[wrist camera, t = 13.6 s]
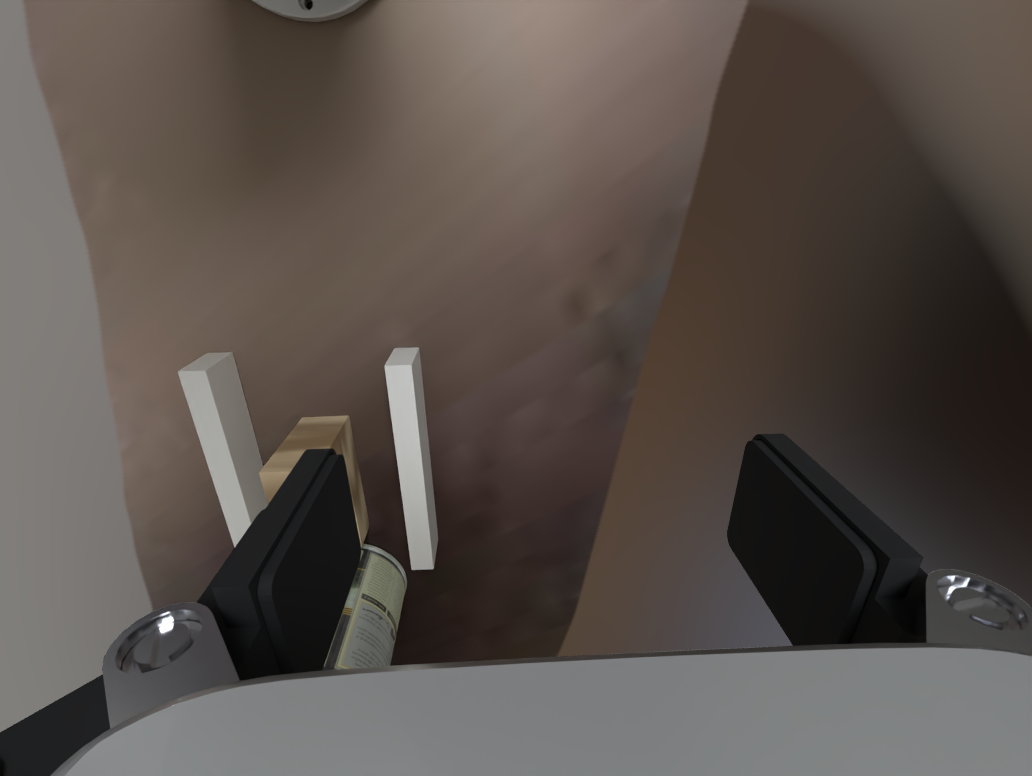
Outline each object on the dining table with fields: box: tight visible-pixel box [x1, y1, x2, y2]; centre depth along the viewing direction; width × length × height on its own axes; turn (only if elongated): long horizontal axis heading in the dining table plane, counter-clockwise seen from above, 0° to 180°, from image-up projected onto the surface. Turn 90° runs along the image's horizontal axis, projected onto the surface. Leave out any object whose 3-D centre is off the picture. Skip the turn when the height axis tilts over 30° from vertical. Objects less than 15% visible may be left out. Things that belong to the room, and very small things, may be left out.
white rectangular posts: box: [177, 347, 438, 570], centre depth 41 cm, size 20×17×4 cm
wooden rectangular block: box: [259, 415, 370, 547], centre depth 40 cm, size 12×4×8 cm, turn 2°
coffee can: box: [322, 543, 407, 671], centre depth 43 cm, size 10×10×14 cm
